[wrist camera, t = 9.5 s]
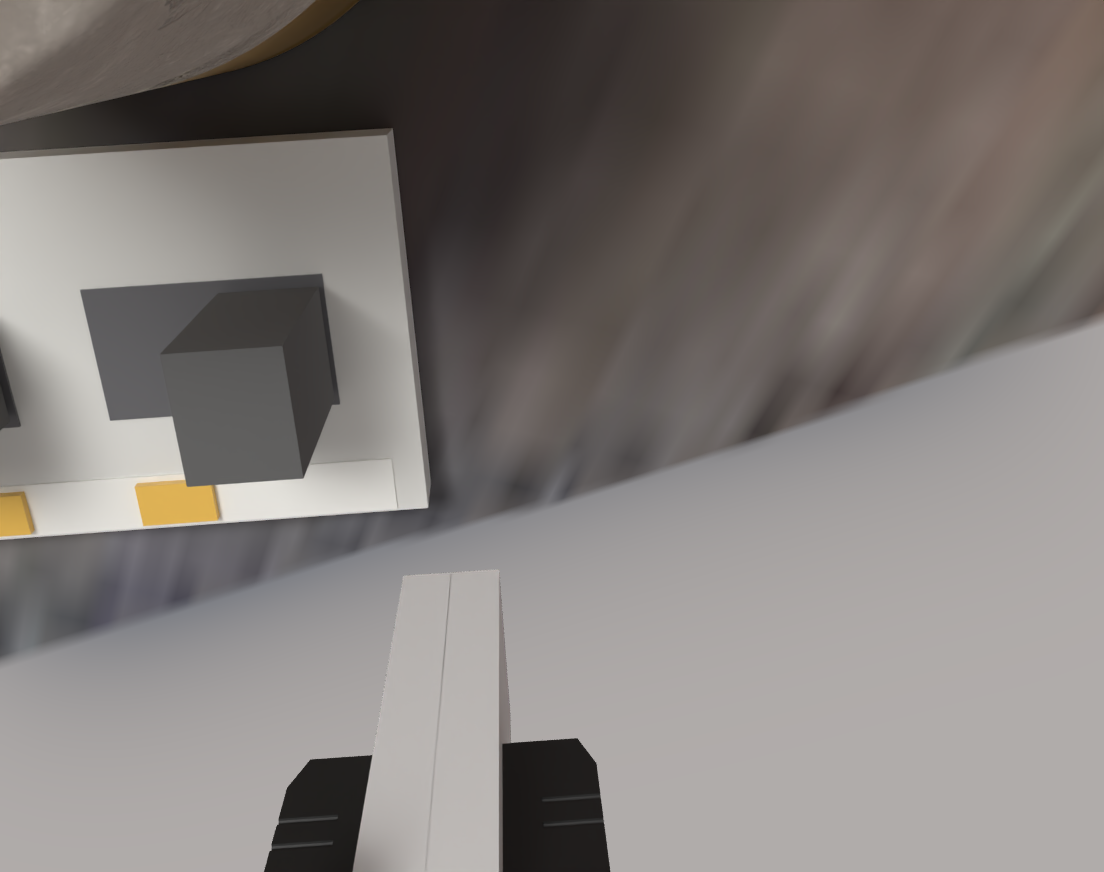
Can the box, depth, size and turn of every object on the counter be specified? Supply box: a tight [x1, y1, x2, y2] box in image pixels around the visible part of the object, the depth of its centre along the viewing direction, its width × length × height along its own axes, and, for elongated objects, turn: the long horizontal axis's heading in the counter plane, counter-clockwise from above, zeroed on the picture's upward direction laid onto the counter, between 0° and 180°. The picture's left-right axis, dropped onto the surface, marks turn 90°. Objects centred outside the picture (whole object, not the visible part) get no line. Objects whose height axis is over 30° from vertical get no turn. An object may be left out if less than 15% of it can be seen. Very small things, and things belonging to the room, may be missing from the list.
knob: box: [159, 287, 334, 487], centre depth 29 cm, size 3×4×6 cm
